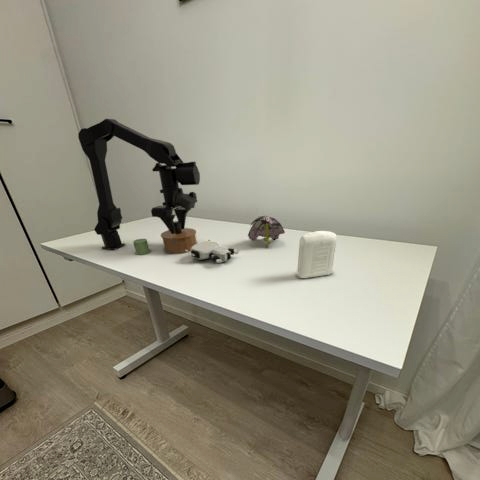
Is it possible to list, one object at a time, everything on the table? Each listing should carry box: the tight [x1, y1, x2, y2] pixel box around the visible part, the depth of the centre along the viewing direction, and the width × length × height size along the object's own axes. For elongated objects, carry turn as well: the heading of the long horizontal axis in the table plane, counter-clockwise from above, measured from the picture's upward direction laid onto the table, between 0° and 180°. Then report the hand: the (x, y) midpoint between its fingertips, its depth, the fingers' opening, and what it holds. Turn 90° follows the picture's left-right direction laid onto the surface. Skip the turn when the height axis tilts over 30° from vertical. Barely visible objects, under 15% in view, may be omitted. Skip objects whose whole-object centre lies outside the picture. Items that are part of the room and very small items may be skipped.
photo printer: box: [296, 230, 338, 279], centre depth 77 cm, size 10×4×12 cm, turn 103°
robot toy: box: [185, 239, 239, 264], centre depth 94 cm, size 12×4×15 cm
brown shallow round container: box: [162, 234, 198, 255], centre depth 105 cm, size 12×12×5 cm
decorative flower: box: [247, 215, 286, 248], centre depth 103 cm, size 14×12×15 cm
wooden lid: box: [160, 220, 197, 240], centre depth 102 cm, size 13×13×5 cm
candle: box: [132, 238, 151, 256], centre depth 104 cm, size 5×5×4 cm
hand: (178, 231), depth 103 cm, fingers open, 6 cm apart
